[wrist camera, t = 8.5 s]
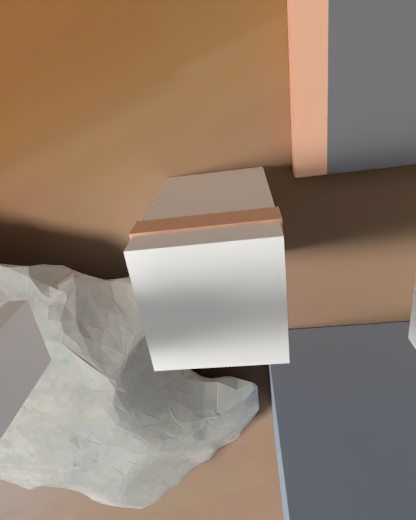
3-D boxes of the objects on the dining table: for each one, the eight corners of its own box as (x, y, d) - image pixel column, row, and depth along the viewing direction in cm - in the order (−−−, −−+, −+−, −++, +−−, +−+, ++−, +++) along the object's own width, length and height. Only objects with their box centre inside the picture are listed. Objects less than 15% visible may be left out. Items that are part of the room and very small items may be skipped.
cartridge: (165, 176, 20) (119, 249, 12) (264, 164, 19) (287, 232, 11) (181, 263, 22) (152, 373, 14) (270, 254, 21) (292, 365, 13)
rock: (128, 562, 28) (-290, 436, 18) (137, 467, 34) (-171, 336, 25) (328, 433, 21) (-154, 135, 12) (295, 345, 28) (-40, 102, 18)
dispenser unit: (266, 331, 24) (319, 755, 9) (431, 319, 23) (796, 782, 8) (274, 434, 28) (319, 835, 13) (413, 428, 27) (629, 860, 12)
